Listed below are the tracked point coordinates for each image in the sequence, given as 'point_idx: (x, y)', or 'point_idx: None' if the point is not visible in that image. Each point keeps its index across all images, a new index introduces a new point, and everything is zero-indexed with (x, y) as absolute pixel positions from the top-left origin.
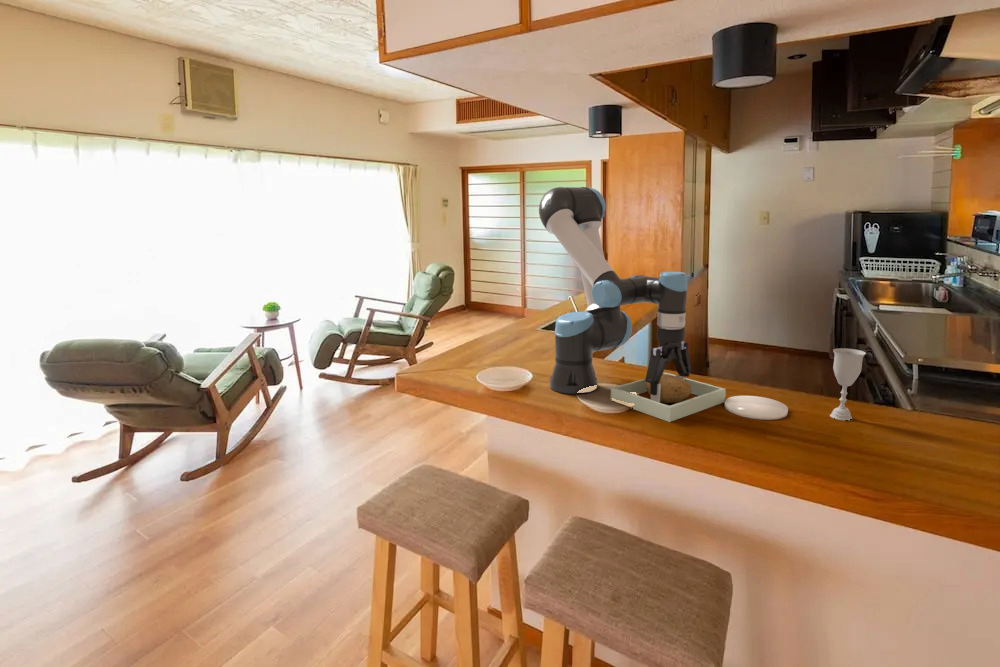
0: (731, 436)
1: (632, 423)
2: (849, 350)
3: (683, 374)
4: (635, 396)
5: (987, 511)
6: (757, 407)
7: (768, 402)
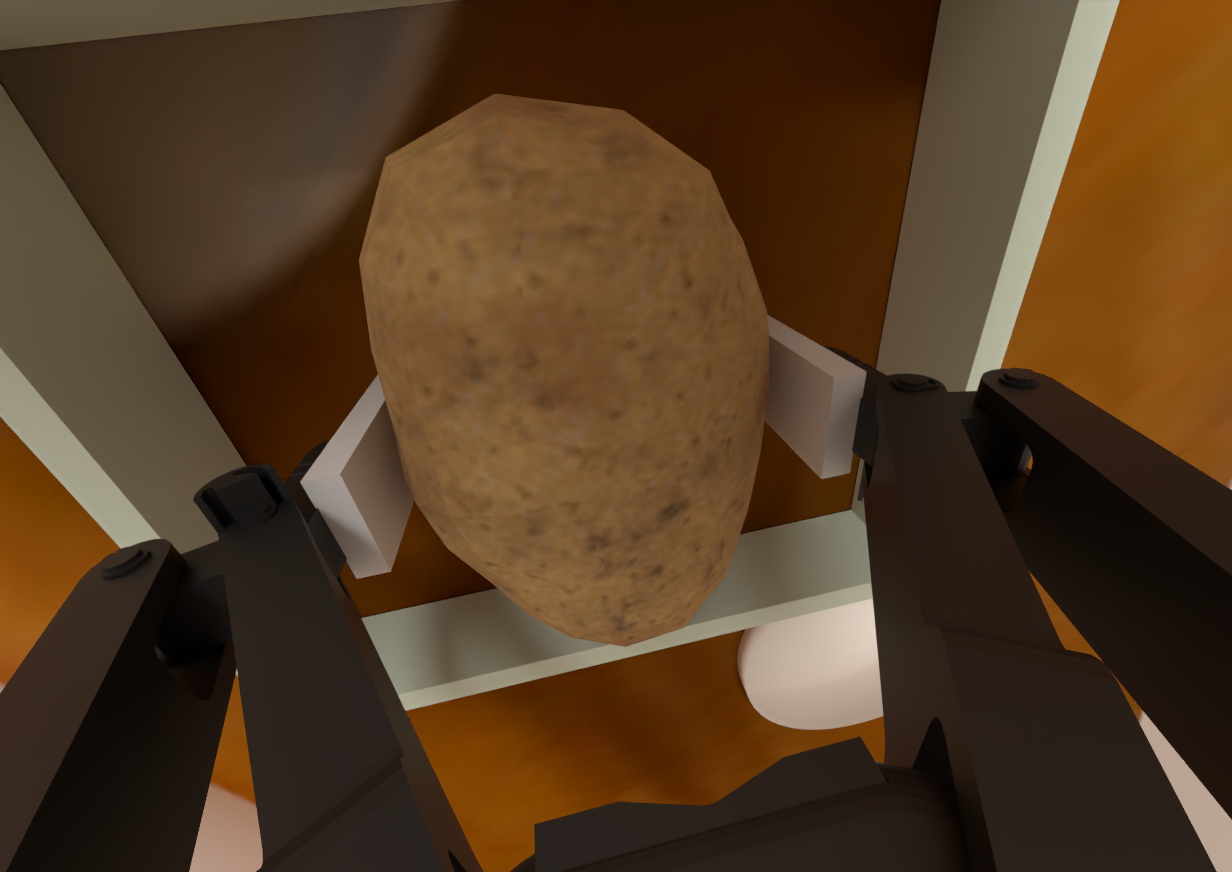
0: (513, 780)
1: (31, 600)
2: None
3: (866, 468)
4: (56, 471)
5: None
6: (855, 665)
7: None
